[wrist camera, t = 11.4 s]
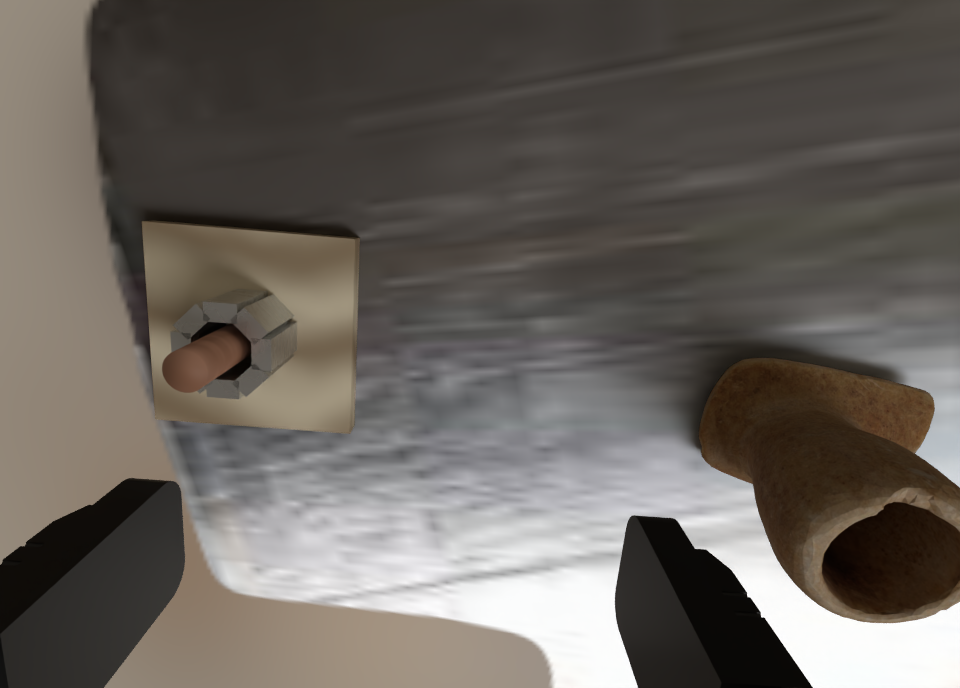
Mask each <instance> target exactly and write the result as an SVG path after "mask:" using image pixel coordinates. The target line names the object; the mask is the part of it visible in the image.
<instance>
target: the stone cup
mask: <svg viewBox="0 0 960 688" xmlns="http://www.w3.org/2000/svg"><path fill="white" fill-rule="evenodd" d="M934 410H935V408H934V400H933V398H932V397H931V395H930V394H929V393H928V392H926V391H924V390H921V389H917V388H914V387H911V386H907V385H903V384H898V383H895V382H892V381H888V380H885V379H881V378H876V377H872V376H866V375H861V374H855V373H851V372H847V371H843V370H839V369H835V368H830V367H825V366H820V365H815V364H809V363H802V362H796V361H790V360H784V359H776V358H751V359H743V360H741V361H739V362H737V363H735V364H733V365H732V366H730V367H729V368H728V369H727V370H726V371H725V372H724V373H723V375H722V376H721V378H720V379H719V380H718V382H717V383H716V385H715V386H714V388H713V390H712V391H711V393H710V395H709V398H708V400H707V402H706V405H705V408H704V412H703V415H702V419H701V422H700V427H699V440H700V443H701V446H702V450H701V453H702V457H703V458H704V460H705V461H706V462H707V463H708V464H709V465H710V466H712V467H713V468H715V469H717V470H719V471H721V472H723V473H726V474H728V475H731V476H733V477H736V478H738V479H741V480H743V481H746V482H749V483H751V484H753V486H754V493H755V499H756V504H757V508H758V512H759V515H760V518H761V520H762V523H763V526H764V529H765V532H766V535H767V537H768V539H769V542H770V544H771V547H772V549H773V552H774V554H775V556H776V558H777V560H778V561H779V563H780V565H781V566H782V568H783V569H784V571H785V572H786V573H787V574H788V576H789V577H790V578H791V579H792V581H793V582H794V583H795V584H796V585H797V586H798V587H799V588H800V589H801V590H802V591H803V592H804V593H805V594H806V595H807V596H808V597H809V598H811V599H812V600H813V601H814V602H816V603H817V604H818V605H820V606H822V607H823V608H825V609H827V610H828V611H830V612H832V613H835V614H837V615H839V616H842V617H846V618H850V619H854V620H857V621H862V622H870V623H898V622H906V621H912V620H918V619H922V618H926V617H929V616H932V615H934V614H936V613H937V612H939V611H940V610H947V609H948V608H950V607H951V606H953V605H955V604H956V603H958V602H960V488H959V487H958V486H957V485H956V484H954V483H953V482H952V481H951V480H949V479H948V478H947V477H946V476H944V475H943V474H942V473H941V472H940V471H938V470H937V469H936V468H934V467H933V466H932V465H930V464H929V463H928V462H926V461H925V460H923V459H922V458H920V457H919V456H917V455H916V454H915V453H916V451H917V450H918V449H919V447H920V446H921V444H922V442H923V441H924V439H925V436H926V434H927V432H928V430H929V428H930V424H931V421H932V418H933V414H934Z"/></svg>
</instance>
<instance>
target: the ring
mask: <svg viewBox="0 0 960 688" xmlns="http://www.w3.org/2000/svg"><path fill="white" fill-rule="evenodd" d="M293 317H294V315H293V314H292V313H291V312H290V310H289V309H288V308H287V307H286V306H285V305H284V304H283V303H282V302H281V301H280V300H279V299H278V298H277V297H276V296H275V295H274V294H273V295H270V296H268V291H261V290H249V289H236V290H233V291H230V292H227V293H224V294H221V295H218V296H216V297H213V298H210V299H207V300H205V301H202V302H199V303H196V304H195V305H194V306H193V307H192V308H191V309H190V310H188V311H187V312H186V313H185V314H184V315H183V316H182V317H181V318H180V319H179V320H178V321H177V322H176V323H175V324H174V325H173V326H174V327H175V328H176V329H175V330H173V331H171V332H170V336H171V352H173V351H175V350H177V349H179V348H182V347H184V346H186V345H188V344H190V343H192V342H194V341H196V340H198V339H200V338H202V337H204V336H206V335H208V334H210V333H212V332H214V331H216V330H218V329H220V328H222V327H224V326H226V325H227V323H232V324H234V325H235V326H236V327H237V328H238V329H239V330H240V331H241V332H242V333H243V334H244V335H245V336H246V337H247V338H248V339H249V340H250V341H251V357H246V358H245V359H244V360H242V361H241V362H239V363H238V364H236V365H235V366H233V367H232V368H230V369H229V370H227V371H226V372H224V373H223V374H221V375H220V376H218V377H217V378H215V379H214V380H213V381H211V382H210V383H208V384H207V385H205V386H204V387H202V388H201V389H199V390H198V391H197V392H198V393H199V394H200V393H202V392H203V391H205V390H206V391H207V397H213V398H227V399H241V398H242V397H243V396H245V397H247V396H248V395H249V394H251V393H252V392H253V391H254V390H255V389H256V388H258V387H259V386H260V385H261V384H262V383H264V382H265V381H266V380H267V379H268V378H269V377H271V376H272V375H273V374H274V373H275V372H276V371H278V370H279V369H280V368H281V367H282V366H283V365H284V364H285V363H287V362H288V361H289V360H290V359H291V358H292V357H293V356H295V355H294V354H293V353H294V352H295V351H296V350H297V322H291V321H290V320H291V319H292V318H293Z"/></svg>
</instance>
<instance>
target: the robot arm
mask: <svg viewBox="0 0 960 688" xmlns="http://www.w3.org/2000/svg"><path fill="white" fill-rule="evenodd" d="M182 517H183V516H182V498H181V491H180V487H179V485H178V484H177V483H176V482H174V481H162V480H149V479H135V478H129V479H126V480H124V481H123V482H121V483H120V484H119V485H117V486H116V487H115V488H114V489H113V490H111V491H110V492H109V493H107V494H106V495H105V496H104V497H102V498H101V499H100V500H99V501H97V502H96V503H95V504H94V505H88V506H85V507H83V508H81V509H79V510H77V511H75V512H73V513H70V514H68V515H66V516H64V517H62V518H60V519H58V520H55V521H53V522H52V523H51V524H49V525H48V526H47V527H45V528H44V529H43V530H41V531H40V532H39V533H37V534H36V535H35V536H33V537H32V538H31V539H30V540H28V541H27V542H26V545H25V547H24V546H23V547H22V546H20V547H19V548H18V549H16V550H15V551H14V552H12V553H11V554H10V555H8V556H7V557H6V558H4V559H3V562H2V564H1V565H0V688H104V687H105V685H106V684H107V683H108V681H109V680H110V679H111V678H112V676H113V675H114V674H115V672H116V671H117V670H118V668H119V667H120V666H121V664H122V663H123V662H124V660H125V659H126V658H127V657H128V655H129V654H130V653H131V651H132V650H133V649H134V647H135V646H136V645H137V644H138V642H139V641H140V640H141V638H142V637H143V636H144V634H145V633H146V632H147V630H148V629H149V628H150V627H151V625H152V624H153V623H154V621H155V620H156V619H157V617H158V616H159V615H160V613H161V612H162V611H163V610H164V608H165V607H166V605H167V604H168V603H169V602H170V600H171V599H172V598H173V596H174V595H175V593H176V591H177V589H178V587H179V584H180V581H181V578H182V575H183V571H184V563H185V552H184V533H183V518H182ZM615 611H616V619H617V624H618V628H619V632H620V635H621V638H622V641H623V644H624V647H625V650H626V653H627V655H628V658H629V661H630V664H631V667H632V670H633V673H634V676H635V679H636V682H637V685H638V688H813V687H812V686H811V684H810V683H809V682H808V680H807V679H806V677H805V676H804V674H803V673H802V671H801V670H800V669H799V667H798V666H797V664H796V663H795V661H794V660H793V658H792V657H791V656H790V654H789V653H788V651H787V650H786V648H785V647H784V645H783V644H782V643H781V641H780V640H779V638H778V637H777V635H776V634H775V632H774V631H773V630H772V628H771V627H770V625H769V624H768V622H767V621H766V619H765V618H761V612H760V611H759V609H758V608H757V607H756V605H755V604H754V602H753V601H752V599H751V598H749V597H747V592H746V591H745V589H744V588H743V586H742V585H741V583H740V582H739V581H738V579H737V578H736V576H735V575H734V573H733V572H732V570H731V569H729V568H728V567H727V566H726V565H724V564H723V563H722V562H721V561H719V560H718V559H717V558H716V557H714V556H713V555H712V554H711V553H709V552H708V551H707V550H703V549H695V548H694V547H693V545H692V544H691V542H690V540H689V539H688V537H687V536H686V534H685V532H684V531H683V529H682V528H681V526H680V525H679V523H678V522H677V520H675V519H673V518H661V517H647V516H631V517H630V519H629V521H628V523H627V527H626V532H625V538H624V544H623V550H622V556H621V562H620V567H619V573H618V579H617V585H616V592H615Z"/></svg>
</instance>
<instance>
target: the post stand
mask: <svg viewBox="0 0 960 688" xmlns="http://www.w3.org/2000/svg"><path fill="white" fill-rule="evenodd" d="M142 232H143V246H144V261H145V276H146V290H147V305H148V319H149V334H150V349H151V363H152V378H153V392H154V407H155V419H158V420H171V421H185V422H198V423H212V424H226V425H239V426H253V427H266V428H280V429H294V430H307V431H321V432H334V433H348V434H350V433H351V431H352V429H353V427H354V422H355V387H356V352H357V317H358V281H359V246H360V238H357V237H345V236H333V235H321V234H309V233H297V232H285V231H273V230H261V229H249V228H237V227H225V226H214V225H202V224H190V223H178V222H166V221H142ZM236 289H249V290H261V291H268V296H270V295H273V294H274V295H275V296H276V297H277V298H278V299H279V300H280V301H281V302H282V303H283V304H284V305H285V306H286V307H287V308H288V309H289V310H290V312H291V313H292V314H293V315H294V317H293V318H292V319H291V320H290V321H291V322H297V350H296V351H295V352H294V353H293V354H294V355H295V356H293V357H292V358H291V359H290V360H289V361H288V362H287V363H285V364H284V365H283V366H282V367H281V368H280V369H279V370H278V371H276V372H275V373H274V374H273V375H272V376H271V377H269V378H268V379H267V380H266V381H265V382H264V383H262V384H261V385H260V386H259V387H258V388H256V389H255V390H254V391H253V392H252V393H251V394H249V395H248V396H247V397H245V396H243V397H242V398H241V399H227V398H213V397H207V391H206V390H205V391H203V392H202V393H200V394H199V393H198V392H197V391H198V390H199V389H201V388H202V387H204V386H205V385H207V384H208V383H210V382H211V381H213V380H214V379H215V378H217V377H218V376H220V375H221V374H223V373H224V372H226V371H227V370H229V369H230V368H232V367H233V366H235V365H236V364H238V363H239V362H241V361H242V360H244V359H245V358H246V357H251V341H250V340H249V339H248V338H247V337H246V336H245V335H244V334H243V333H242V332H241V331H240V330H239V329H238V328H237V327H236V326H235V325H234V324H232V323H227V325H226V326H224V327H222V328H220V329H218V330H216V331H214V332H212V333H210V334H208V335H206V336H204V337H202V338H200V339H198V340H196V341H194V342H192V343H190V344H188V345H186V346H184V347H182V348H179V349H177V350H175V351H173V352H171V336H170V332H171V331H173V330H175V329H176V328H175V327H174V326H173V325H174V324H175V323H176V322H177V321H178V320H179V319H180V318H181V317H182V316H183V315H184V314H185V313H186V312H187V311H188V310H190V309H191V308H192V307H193V306H194V305H195V304H196V303H199V302H202V301H205V300H207V299H210V298H213V297H216V296H218V295H221V294H224V293H227V292H230V291H233V290H236Z"/></svg>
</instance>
